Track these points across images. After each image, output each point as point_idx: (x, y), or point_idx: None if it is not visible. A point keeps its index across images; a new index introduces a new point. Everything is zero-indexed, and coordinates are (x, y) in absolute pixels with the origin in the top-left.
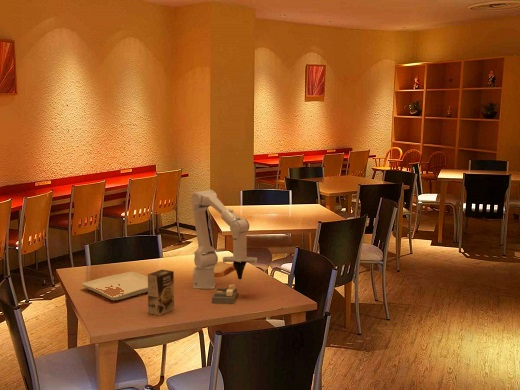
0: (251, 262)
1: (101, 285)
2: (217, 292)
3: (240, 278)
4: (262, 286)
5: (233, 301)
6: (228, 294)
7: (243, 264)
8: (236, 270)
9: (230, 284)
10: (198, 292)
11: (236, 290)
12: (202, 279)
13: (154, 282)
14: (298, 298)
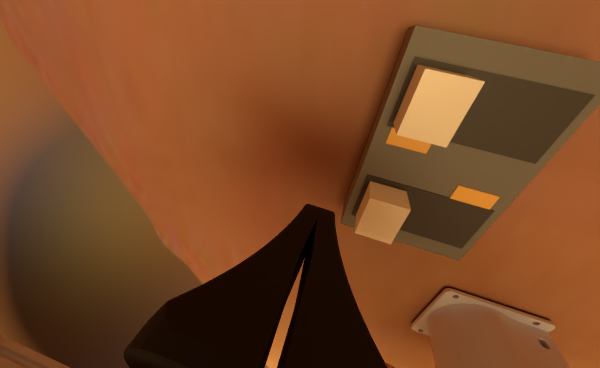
0: (39, 357)
1: None
2: (497, 186)
3: (311, 208)
4: (237, 254)
5: (405, 40)
6: (452, 73)
7: (151, 352)
8: (343, 288)
9: (385, 240)
10: (554, 274)
11: (351, 195)
12: (523, 358)
13: None
14: (74, 92)
